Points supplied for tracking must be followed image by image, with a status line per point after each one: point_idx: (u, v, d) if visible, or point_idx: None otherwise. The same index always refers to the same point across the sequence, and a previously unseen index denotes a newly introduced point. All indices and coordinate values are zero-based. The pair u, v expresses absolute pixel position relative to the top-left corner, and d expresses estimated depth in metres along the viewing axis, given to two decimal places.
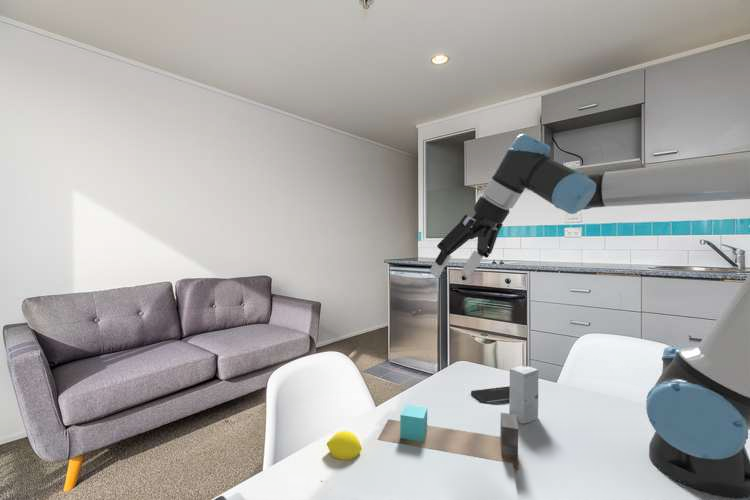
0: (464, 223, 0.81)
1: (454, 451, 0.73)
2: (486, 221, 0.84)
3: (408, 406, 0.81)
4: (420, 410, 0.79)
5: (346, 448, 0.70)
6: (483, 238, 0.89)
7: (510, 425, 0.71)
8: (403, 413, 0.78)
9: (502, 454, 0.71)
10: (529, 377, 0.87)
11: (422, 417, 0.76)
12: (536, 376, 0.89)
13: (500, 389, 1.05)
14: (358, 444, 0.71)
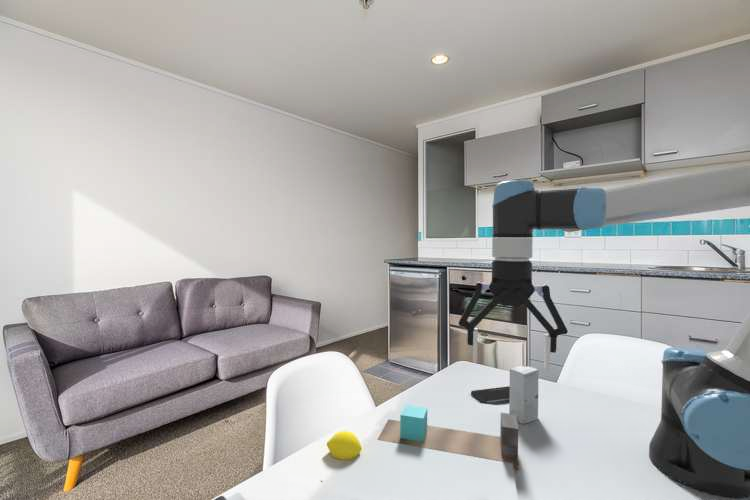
0: None
1: (454, 451, 0.73)
2: (506, 283, 0.72)
3: (408, 406, 0.81)
4: (420, 410, 0.79)
5: (346, 448, 0.70)
6: (528, 308, 0.71)
7: (510, 425, 0.71)
8: (403, 413, 0.78)
9: (502, 454, 0.71)
10: (529, 377, 0.87)
11: (422, 417, 0.76)
12: (536, 376, 0.89)
13: (500, 389, 1.05)
14: (358, 444, 0.71)
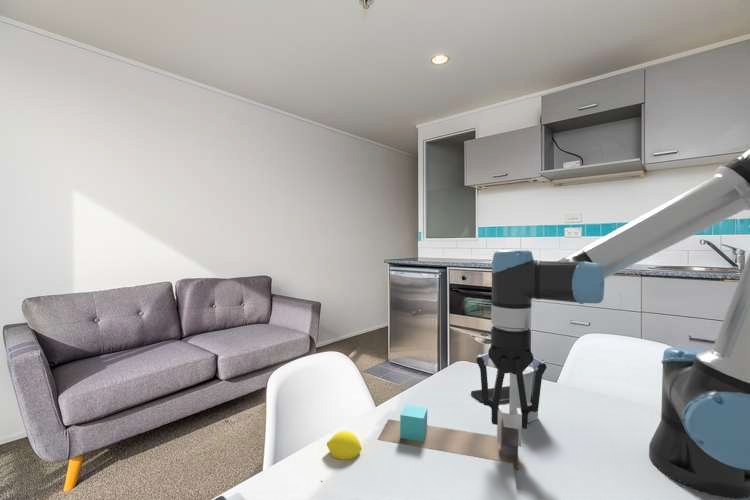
0: None
1: (454, 451, 0.73)
2: (505, 351, 0.72)
3: (408, 406, 0.81)
4: (420, 410, 0.79)
5: (346, 448, 0.70)
6: None
7: (510, 425, 0.71)
8: (403, 413, 0.78)
9: (502, 454, 0.71)
10: (529, 377, 0.87)
11: (422, 417, 0.76)
12: None
13: None
14: (358, 444, 0.71)
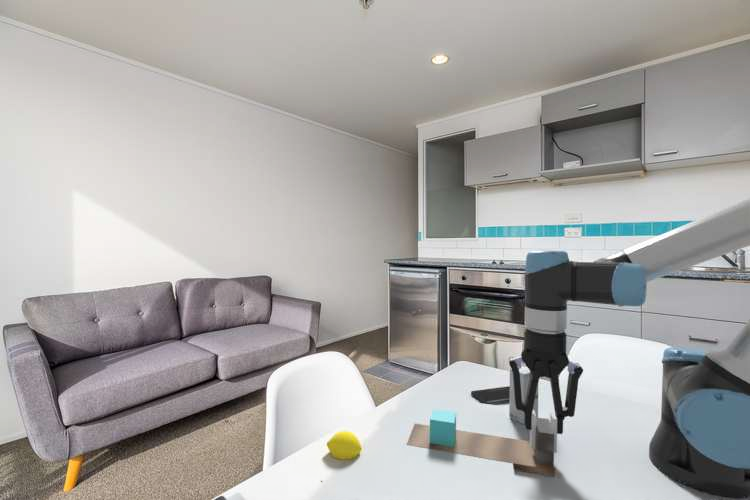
0: None
1: (487, 457, 0.71)
2: (540, 354, 0.70)
3: (436, 410, 0.79)
4: (449, 414, 0.78)
5: (346, 448, 0.70)
6: (551, 382, 0.70)
7: (545, 430, 0.69)
8: (432, 418, 0.76)
9: (537, 460, 0.69)
10: (529, 377, 0.87)
11: (452, 422, 0.74)
12: None
13: (500, 389, 1.05)
14: (358, 444, 0.71)
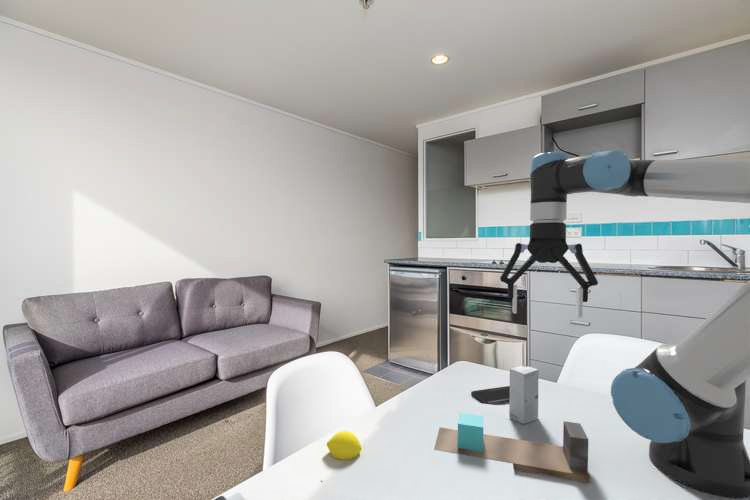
0: (515, 250, 0.85)
1: (518, 462, 0.69)
2: (543, 242, 0.82)
3: (463, 414, 0.78)
4: (477, 418, 0.76)
5: (346, 448, 0.70)
6: (563, 264, 0.82)
7: (579, 435, 0.68)
8: (460, 422, 0.74)
9: (570, 466, 0.68)
10: (529, 377, 0.87)
11: (481, 426, 0.73)
12: (536, 376, 0.89)
13: (499, 389, 1.05)
14: (358, 444, 0.71)
